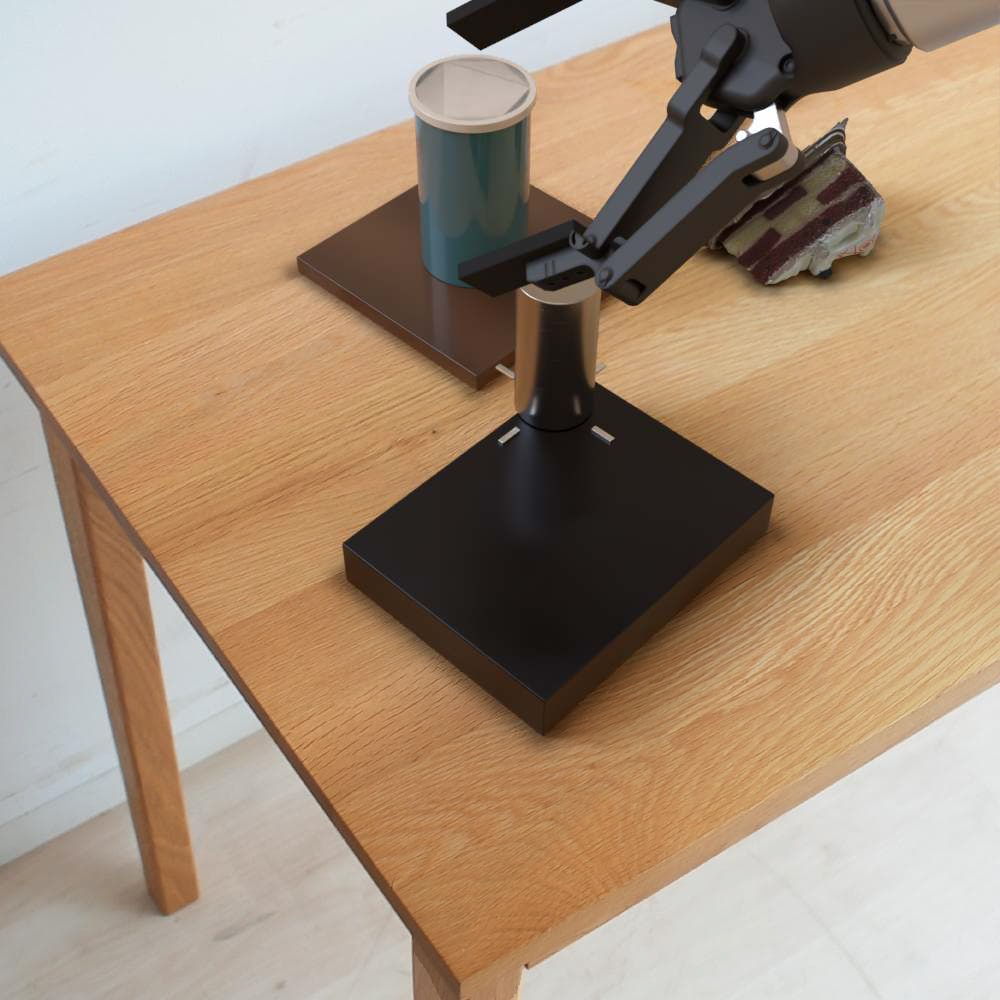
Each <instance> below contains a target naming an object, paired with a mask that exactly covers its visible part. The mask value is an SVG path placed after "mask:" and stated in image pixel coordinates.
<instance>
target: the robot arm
mask: <svg viewBox="0 0 1000 1000" xmlns="http://www.w3.org/2000/svg"><path fill="white" fill-rule="evenodd" d="M583 1H584V0H469V1H466V2H464V3H463V4H461V5H460V6H457V7H455V8H453V9H451V10H449V11H447V12H446V13H445V18H446V19H445V20H446V21H445V22H446V27H447V28H448V29H450V30H451V31H452V32H454V33H455V34H456V35H458V36H459V37H460V38H462V39H463V40H465V41H466V42H467V43H469V44H470V45H472V46H473V47H474V48H476V49H477V50H478V51H480V52H481V51H483V50H485V49H487V48H489V47H492V46H494V45H495V44H498V43H500V42H502V41H503V40H505V39H507V38H510V37H512V36H513V35H516V34H518V33H520V32H522V31H524V30H526V29H528V28H530V27H532V26H534V25H536V24H538V23H540V22H542V21H544V20H546V19H549V18H550V17H552V16H554V15H556V14H558V13H561V12H563V11H564V10H566V9H569V8H571V7H573V6H574V5H577V4H579V3H581V2H583ZM653 1H654V2H657V3H660V4H662V5H666V6H669V7H671V8H675V14H673V15H670V16H669V21H670V32H671V35H672V37H673V39H674V42H675V45H676V50H675V56H674V63H673V64H674V75H675V79H676V80H677V81H678V82H679V83H680V85H679V87H678V88H677V89H676V91H675V92H673V95H672V96H671V97H670V99H669V101H668V103H667V105H666V117H665V119H664V121H663V122H662V124H661V125H660V126H659V128H658V129H657V130H656V132H655V133H654V135H653V136H652V137H651V139H649V142H648V143H647V144H646V146H645V147H644V149H643V150H642V151H641V153H640V154H639V156H638V157H637V159H636V160H635V161H634V163H632V165H631V167H630V168H629V170H628V171H627V172H626V173H625V175H624V177H623V178H622V179H621V181H620V182H619V183H618V185H617V186H616V188H614V190H613V191H612V193H611V195H610V196H609V198H608V199H607V200H606V202H605V203H604V205H603V206H602V207H601V209H600V210H599V211H598V213H597V214H596V216H595V217H594V218H593V221H592V223H591V224H590V225H589V227H588V228H587V227H585V226H584V225H582V224H580V223H579V222H577V221H576V220H574V219H572V220H570V221H567V222H565V223H562V224H560V225H557V226H554V227H552V228H549V229H547V230H544V231H542V232H539V233H537V234H534V235H531V236H529V237H526V238H524V239H521V240H519V241H516V242H514V243H511V244H508V245H506V246H503V247H501V248H498V249H496V250H493V251H491V252H488V253H485V254H483V255H480V256H478V257H475V258H473V259H470V260H468V261H465V262H462V263H460V264H457V268H458V280H460V281H462V282H464V283H466V284H468V285H470V286H472V287H474V288H476V289H478V290H480V291H482V292H483V293H485V294H487V295H489V296H491V297H493V298H494V297H496V296H499V295H502V294H505V293H507V292H510V291H513V290H515V289H518V288H521V287H524V286H526V285H529V284H533V285H535V286H537V287H539V288H540V289H542V290H544V291H553V292H554V291H557V290H560V289H562V288H564V287H568V286H571V285H574V284H576V283H579V282H582V281H585V280H587V279H590V278H593V277H594V281H595V284H596V286H597V287H599V288H600V289H602V290H603V291H605V292H607V293H608V294H610V295H609V296H612V297H614V298H616V299H617V300H619V301H620V302H622V303H624V304H625V305H627V306H630V307H636V306H640V305H641V304H642V303H643V302H644V301H645V300H647V299H648V298H649V297H650V296H651V295H652V294H653V293H654V292H656V290H658V288H659V287H661V286H662V285H663V284H664V283H665V282H667V280H668V279H669V278H670V277H672V276H673V275H674V274H675V273H676V272H677V271H678V270H680V268H681V267H683V265H685V264H686V263H687V262H688V261H689V260H690V259H691V258H692V257H693V256H694V255H696V254H697V253H698V252H699V251H700V250H701V249H702V248H703V246H704V245H705V244H706V243H707V242H709V241H710V240H711V239H712V238H713V237H714V236H715V235H716V234H717V233H718V232H719V231H720V230H722V229H723V228H724V227H725V226H726V225H727V224H728V223H729V222H730V221H731V220H732V219H734V218H735V217H736V216H737V215H738V214H739V213H740V212H741V211H742V210H743V209H744V208H746V207H747V206H748V205H749V204H750V203H751V202H752V201H753V200H754V199H755V198H756V197H758V196H759V195H760V194H761V193H763V192H765V191H767V190H769V189H771V188H773V187H775V186H777V185H779V184H781V183H783V182H785V181H787V180H790V179H792V178H794V177H796V176H797V175H799V174H800V173H801V172H802V171H803V169H804V168H805V165H806V156H805V154H804V153H803V152H802V150H801V149H800V148H799V147H798V146H796V144H794V143H793V140H792V135H791V132H790V131H791V130H790V127H789V123H788V120H787V115H786V113H787V112H788V111H789V110H790V109H791V108H792V107H793V106H794V105H795V104H797V103H798V102H799V101H800V100H802V99H803V98H805V97H807V96H810V95H815V94H820V93H827V92H833V91H838V90H842V89H844V88H846V87H849V86H851V85H854V84H856V83H859V82H862V81H864V80H867V79H868V78H871V77H874V76H876V75H879V74H882V73H883V72H886V71H888V70H891V69H894V68H896V67H898V66H901V65H903V64H904V63H905V62H906V61H907V59H908V57H909V56H910V54H911V53H912V51H913V49H914V48H915V49H917V50H920V51H922V52H924V53H930V52H934V51H936V50H939V49H941V48H944V47H946V46H949V45H951V44H953V43H956V42H958V41H961V40H963V39H966V38H969V37H971V36H973V35H977V34H978V33H982V32H983V31H987V30H989V29H991V28H993V27H996V26H999V25H1000V0H653ZM703 105H704V106H705V107H708V108H711V109H715V111H714V113H713V114H712V116H711V117H710V118H709V119H707V118H705V117H704V116H703V115H702V114H701V109H702V107H703ZM746 119H751V120H753V121H752V123H751V125H750V126H749V127H748V128H747V130H746V129H744V128H743V129H740V128H741V126H742V125H743V123H744V122H745V121H746ZM739 129H740V130H739ZM733 137H734V139H735V140H734V141H735V143H734V144H732V145H730V146H728V147H727V148H726V149H724V148H725V147H726V146H727V145H728V144H729V142H730V141H731V140H732V138H733ZM723 149H724V150H723ZM721 150H723V151H722V152H720V153H719V154H717V155H716V156H715V157H714V158H713V159H711V160H710V162H709V161H708V159H709V158H710V157H711V155H712V154H713V153H714V152H717V151H721ZM707 161H708V163H707V164H706V165H705V166H704V164H705V163H706V162H707ZM703 166H704V167H703ZM702 167H703V168H702ZM614 239H615V240H614ZM613 240H614V241H613ZM704 247H705V246H704Z"/></svg>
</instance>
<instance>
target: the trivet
mask: <svg viewBox="0 0 1000 1000" xmlns="http://www.w3.org/2000/svg"><path fill="white" fill-rule="evenodd" d="M572 219H574V220H576V221H577V222H579V223H580V224H582V225H584V226H585V227H587V228H588V227H589V225H590V224H591V223H592V221H593V220H594V218H592V217H590V216H588V215H586V214H584V213H583V212H581V211H579V210H578V209H575V208H574V207H572V206H571V205H568V204H567V203H565V202H563V201H562V200H560V199H558V198H556V197H554V196H552V195H550V194H549V193H547V192H546V191H543V190H541V189H540V188H538V187H536V186H535V185H533V184H531V183H530V193H529V236H531V235H534V234H537V233H539V232H542V231H544V230H547V229H549V228H552V227H554V226H557V225H560V224H562V223H565V222H567V221H570V220H572ZM614 240H615V239H614ZM614 240H613V241H614ZM296 262H297V263H296V265H297V271H298V273H300V274H301V275H303V276H304V277H306V278H307V279H309V280H310V281H311V282H313V283H315V284H316V285H318V286H319V287H321V288H322V289H324V290H325V291H326V292H328V293H330V294H331V295H333V296H335V297H336V298H337V299H339V300H340V301H342V302H343V303H345V304H346V305H348V306H349V307H351V308H352V309H354V310H355V311H357V312H359V314H361V315H363V316H364V317H366V318H368V319H369V320H370V321H372V322H374V323H375V324H376V325H378V326H379V327H381V328H383V329H384V330H386V331H387V332H388V333H390V334H391V335H393V336H394V337H396V338H398V339H399V340H400V341H402V342H403V343H405V344H406V345H408V346H409V347H411V348H412V349H414V350H415V351H417V352H419V354H421V355H423V356H424V357H425V358H427V359H429V360H430V361H432V362H433V363H435V364H436V365H437V366H439V367H441V368H443V369H444V370H445V371H447V372H448V373H450V374H451V375H453V376H454V377H455V378H458V379H459V380H461V381H462V382H463V383H465V384H466V385H468V386H469V387H471V388H472V389H474V390H475V391H479V390H480V389H481V388H483V387H484V386H485V385H486V384H488V383H489V382H491V381H492V380H494V379H495V378H497V377H498V376H499V375H500V374H503V373H502V372H500V371H499V370H497V369H496V366H497V365H499V364H501V365H503V366H504V367H506V368H507V369H509V368H510V367H511V366H513V365H515V299H516V289H515V290H513V291H510V292H507V293H505V294H502V295H499V296H496V297H494V298H493V297H491V296H489V295H487V294H485V293H483V292H482V291H480V290H478V289H476V288H466V287H459V286H454V285H451V284H448V283H445V282H443V281H441V280H439V279H437V278H436V277H435V276H433V275H432V274H431V273H430V272H429V271H428V270H427V268H426V267H425V265H424V263H423V261H422V255H421V236H420V215H419V194H418V183H417V184H415V185H413V186H412V187H410V188H408V189H407V190H405V191H404V192H402V193H400V194H399V195H397V196H396V197H393V198H392V199H390V200H388V201H387V202H385V203H383V204H382V205H380V206H378V207H377V208H375V209H374V210H372V211H370V212H368V213H366V214H365V215H364V216H362V217H360V218H359V219H357V220H355V221H353V222H352V223H350V224H349V225H347V226H346V227H344V228H342V229H340V230H339V231H337V232H336V233H333V234H332V235H330V236H328V237H327V238H326V239H324V240H322V241H321V242H319V243H317V244H316V245H313V246H312V247H310V248H309V249H307V250H306V251H304V252H301V254H298V255H297V256H296ZM609 296H611V295H610V294H608V293H607V292H605V291H603V290H602V289H601V302H602V301H603V300H605V299H606V298H608V297H609Z"/></svg>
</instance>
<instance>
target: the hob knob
mask: <svg viewBox="0 0 1000 1000" xmlns="http://www.w3.org/2000/svg"><path fill="white" fill-rule="evenodd" d="M601 302H602V301H601V289H600V288H599V287H597V286H596V284H595V281H594V277H593V278H590V279H587V280H585V281H582V282H579V283H576V284H574V285H571V286H568V287H564V288H562V289H560V290H557V291H554V292H553V291H544V290H542V289H540V288H539V287H537V286H535V285H533V284H529V285H526V286H524V287H521V288H518V289H516V299H515V363H514V373H515V377H514V380H513V383H514V384H513V385H514V387H513V391H514V392H513V395H514V396H513V405H514V408H515V411H516V414H517V413H518V414H519V416H520V417H521V418H522V419H523V420H524V421H526V422H527V423H529V424H530V425H532V426H535V427H537V428H540V429H545V430H565V429H569V428H572V427H575V426H577V425H579V424H581V423H582V422H583V421H585V420H586V419H587V418H588V416H589V415H590V413H591V412H592V409H593V403H594V389H595V381H596V375H597V374H596V366H597V359H598V357H597V356H598V345H599V343H598V342H599V330H600V318H601V317H600V316H601ZM595 374H596V375H595Z"/></svg>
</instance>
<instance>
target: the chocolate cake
mask: <svg viewBox="0 0 1000 1000" xmlns="http://www.w3.org/2000/svg"><path fill="white" fill-rule="evenodd" d="M848 122H849V117H846V118H844V119H843V120H842V121H838V122H837V123H836V124H835V125H834V126H833V127H831V129H830V130H828V131H826V133H825V134H823V135H822V136H821V137H818V139H817V140H815V141H814V142H813V143H811V144H808V145H807V146H806V147H805V148H803V149H802V150H801V151H802V152H803V153H804V154H805V156H806V165H805V168H804V169H803V171H802V172H801V173H800V174H799V175H797V176H796V177H794V178H792V179H790V180H787V181H785V182H783V183H781V184H779V185H777V186H775V187H773V188H771V189H769V190H767V191H765V192H763V193H761V194H760V195H759V196H758V197H756V198H755V199H754V200H753V201H752V202H751V203H750V204H749V205H748V206H747V207H746V208H744V209H743V210H742V211H741V212H740V213H739V214H738V215H737V216H736V217H735V218H734V219H732V220H731V221H730V222H729V223H728V224H727V225H726V226H725V227H724V228H723V229H722V230H720V231H719V232H718V233H717V234H716V235H715V236H714V237H713V238H712V239H711V240H710V241H709V242H707V243H706V244H705V245H704V246H703V247H707V248H709V249H710V250H713V251H717V250H719V249H723V248H725V250H726V251H727V252H728V254H729V255H732V256H734V257H735V258H736V259H737V262H738V263H739V264H740V265H741V266H742V267H743V268H745V269H746V271H748V272H749V273H750V274H752V276H753V277H754V278H755V280H757V282H759V283H760V284H762V285H763V286H766V285H769V284H770V285H771V284H772V285H774V284H777V283H780V282H781V281H784V280H787V279H789V278H790V277H796V276H797V275H798V274H799V273H800V271H805V270H808V271H809V272H810V273H811V274H812V275H813V276H818V277H819V278H821V279H823V280H827V279H830V278H831V277H832V276H833V274H834V272H833V270H832V264H833V262H834V261H835V260H838V259H839V260H840V259H841V258H845V257H850V256H852V255H859V256H860V257H866V256H868V255H869V254H870V252H871V251H872V250H873V249H874V248H875V246H876V245H875V244H876V240H877V239H878V236H879V234H880V232H881V226H882V223H883V221H884V219H885V213H886V201H885V199H884V197H883V195H881V194H880V193H879V192H878V190H877V189H876V188H875V186H874V185H873V183H871V182H870V180H868V179H867V178H866V176H865V175H864V174H863V173H862V172H861V171H860V170H859V169H858V168H857V166H855V164H854V163H853V162H852V161H851V160H850V159H848V158H847V149H848V146H847V144H846V139H847V138H846V137H847V134H846V126H847V125H848ZM703 247H702V248H703Z"/></svg>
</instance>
